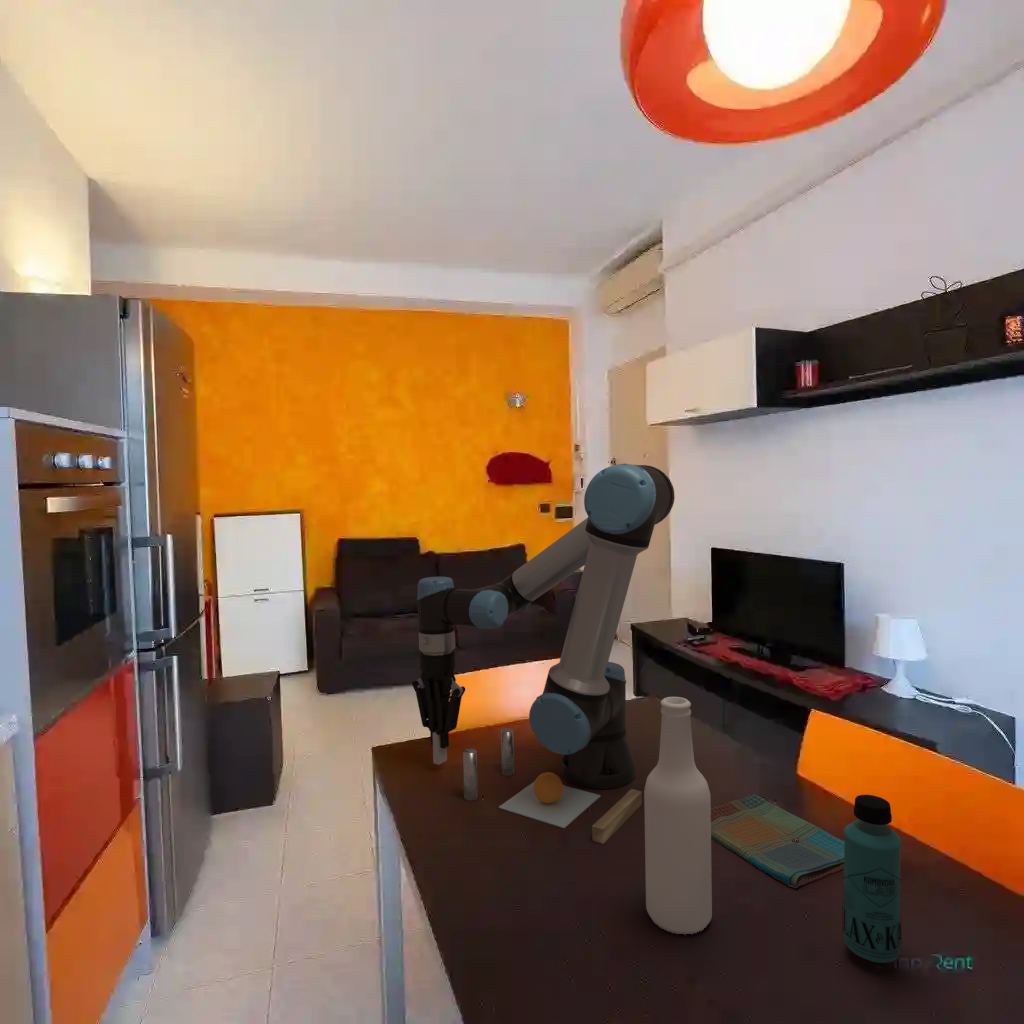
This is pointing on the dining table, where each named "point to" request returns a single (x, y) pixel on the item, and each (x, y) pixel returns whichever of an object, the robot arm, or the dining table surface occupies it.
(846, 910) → the beverage bottle
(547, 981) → the dining table surface
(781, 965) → the dining table surface
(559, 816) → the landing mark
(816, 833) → the dish towel
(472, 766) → the post left
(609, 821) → the wall
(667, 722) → the alcohol
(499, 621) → the robot arm
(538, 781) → the ball
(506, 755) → the post right
